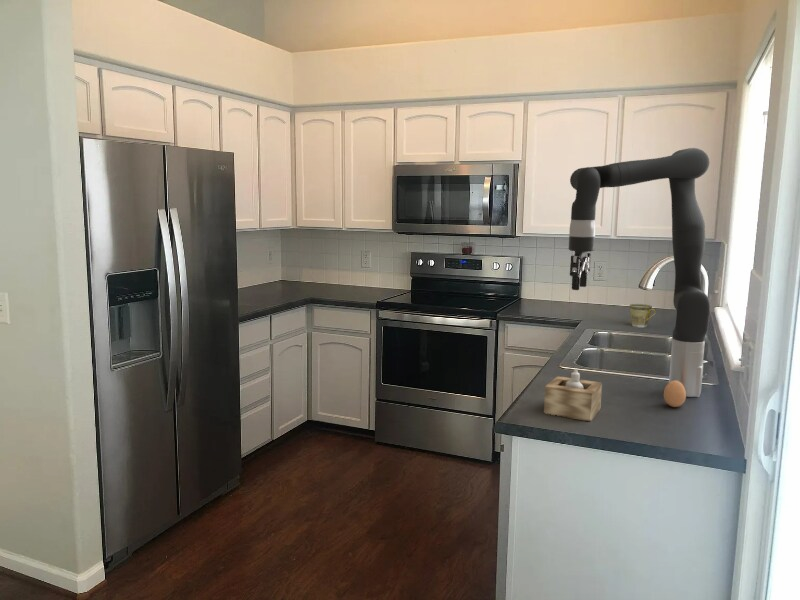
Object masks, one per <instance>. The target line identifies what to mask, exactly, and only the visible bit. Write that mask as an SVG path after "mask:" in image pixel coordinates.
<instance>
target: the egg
mask: <svg viewBox="0 0 800 600" xmlns="http://www.w3.org/2000/svg"><path fill="white" fill-rule="evenodd" d="M686 398H687V397H686V391H685V388H684V386H683V385H682V383H680V382H679V381H676V380H674V381H671V382H669V381H668V383H667V384H666V386H665V387H664V389H663V399H664V401H665V403H666V404H667V405H668V406H670V407H672V408H678V407H680V406H682V405H683V404H684V403H685V401H686Z"/></svg>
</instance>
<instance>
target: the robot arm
mask: <svg viewBox="0 0 800 600" xmlns="http://www.w3.org/2000/svg"><path fill="white" fill-rule="evenodd" d="M710 163H711V162H710V158H709V155H708V154H707V152H705V151H704V150H703V149H700V148H696V147H689V148H685V149H680V150H676V151H675V152H674V153H672V154H671V155H668V156H663V157H656V158H647V159H646V158H645V159H635V160H627V161H622V162H621V161H619V162H613V163H609V164H605V165H597V166H587V167H581V168H577V169H575V170H574V171H573V172H572V174H571V175H570V179H569V182H570V183H569V184H570V185H571V187H572V188H573V189H574V190H576V192H575V200H574V201H573V202H572V204H571V209H570V210H571V211H570V212H571V214H570V224H569V230H568V231H569V233H568V250H569V251H571V252H574V255H571V256H570V266H569V267H570V268H569V276H570V277H571V290H572V291H579V290H580V288H586V287H587V284H588V276H589V275H588V274H589V273H590V271H591V255H592V254H591V252H594V251H595V245H596V244H595V242H596V212H597V211H596V210H597V209H596V207H597V201H598V198H599V193H600V189H603V188H619V187H624V186H632V185H637V184H642V183H646V182H651V181H657V180H663V179H668V183H669V189H670V197H671V201H670V202H671V233H672V234H671V236H672V237H671V242H672V253H673V255H672V256H673V263H674V275H675V276H674V279H675V280H674V289H673V290H674V291H673V306H674V309H675V310H676V317H675V326H674V328H673V330H672V339H671V352H670V363H669V364H670V365H669V377H668V383H669V382H671V381H674V380H676V381H679V382H680V383H682V385H683V386H684V388H685V391H686V398H700V396H701V394H702V393H701V392H702V384H703V375H704V374H703V372H704V355H705V354H704V353H705V345H706V344H705V342H706V335H707V333H708V330H709V328H708V327H709V321H710V315H711V314H710V313H711V311H710V310H711V301H710V298H709V296H708V295H707V294H706V293H705V292H703V286H702V278H701V276H702V275H701V273H702V272H701V270H702V263H703V258H704V254H705V250H706V223H705V219H704V216H703V213H702V211H701V208H700V205H699V202H698V200H697V197H696V179H699V178H700V177H702V176H703V175H705V174H706V172H707V171H708V170H709V166H710Z"/></svg>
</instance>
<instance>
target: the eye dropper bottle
mask: <svg viewBox="0 0 800 600" xmlns="http://www.w3.org/2000/svg"><path fill="white" fill-rule="evenodd" d="M580 377H581V373H579V372H578V368H574V370H573V372H570V378H571V380H570V381H567V382H566V386H565V387H572V388H578V389H583V385H582V384H581V383H580V382H579V380H581V379H580Z"/></svg>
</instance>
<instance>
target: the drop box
mask: <svg viewBox="0 0 800 600" xmlns="http://www.w3.org/2000/svg"><path fill="white" fill-rule="evenodd" d="M570 380H571V377H566V376H561V375H560V376H559V375H557V376H556V377H554V378H553V379H552V380H551V381H550V382H549V383H547V384H546V385H544V402H543V404H544V405H543V414H544V413H545V415H550V414H551V416H555V415H557V416H556V417H561V416H562V417H563V418H566V417H567V419H572V420H579V421H583V422H589V423H590V421H591V422H592V421H593V419H594V418H595V417H596V415H598V413H600V410H601V405H602V392H603V390H602V389H603V382H599V381H593V380H592V381H591V380H585V379H580V380H579V382H580V383H581V384H582V385H583V389H578V388H572V387H565V386H566V382H567V381H570ZM562 417H561V418H562Z"/></svg>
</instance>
